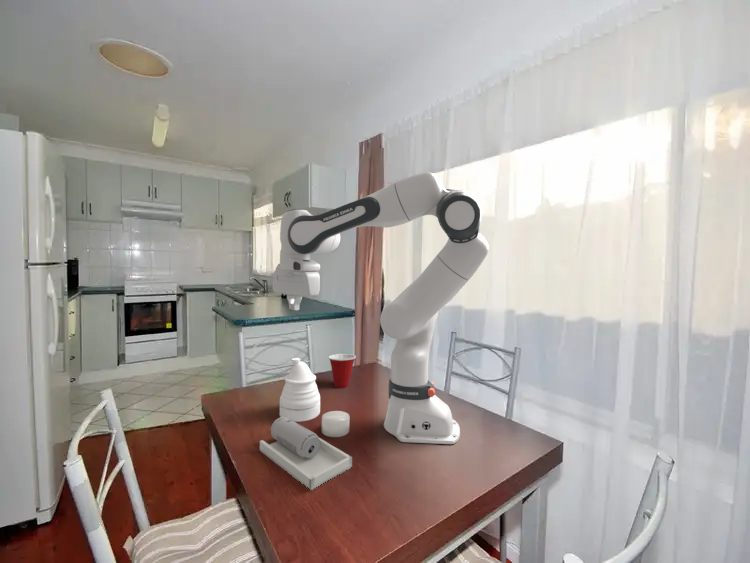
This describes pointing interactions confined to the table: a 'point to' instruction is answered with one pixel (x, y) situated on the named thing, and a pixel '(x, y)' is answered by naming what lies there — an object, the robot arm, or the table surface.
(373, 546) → the table surface
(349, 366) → the plastic cup
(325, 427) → the white rounded puck
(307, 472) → the tray
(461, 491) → the table surface
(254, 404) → the table surface
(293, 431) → the energy drink can
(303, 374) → the honey pot
